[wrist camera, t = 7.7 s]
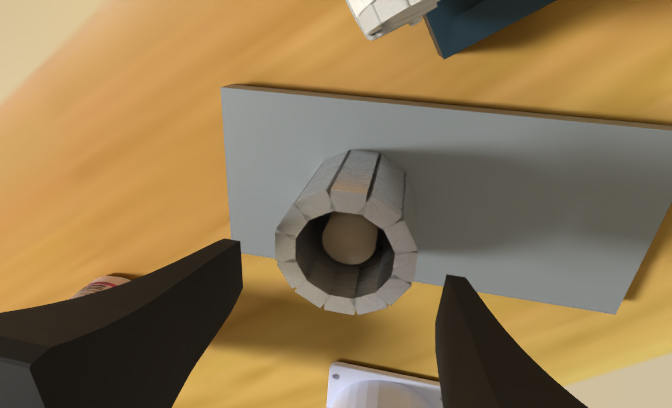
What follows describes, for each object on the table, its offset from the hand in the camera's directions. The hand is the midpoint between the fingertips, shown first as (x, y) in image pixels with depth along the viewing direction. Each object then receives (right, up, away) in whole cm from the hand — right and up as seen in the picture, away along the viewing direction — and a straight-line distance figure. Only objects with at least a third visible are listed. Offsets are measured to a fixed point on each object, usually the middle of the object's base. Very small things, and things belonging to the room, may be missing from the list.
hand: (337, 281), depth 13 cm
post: (+1, +3, +5) cm, 6 cm away
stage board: (+4, +3, +6) cm, 8 cm away
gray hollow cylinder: (+1, +3, +5) cm, 6 cm away
